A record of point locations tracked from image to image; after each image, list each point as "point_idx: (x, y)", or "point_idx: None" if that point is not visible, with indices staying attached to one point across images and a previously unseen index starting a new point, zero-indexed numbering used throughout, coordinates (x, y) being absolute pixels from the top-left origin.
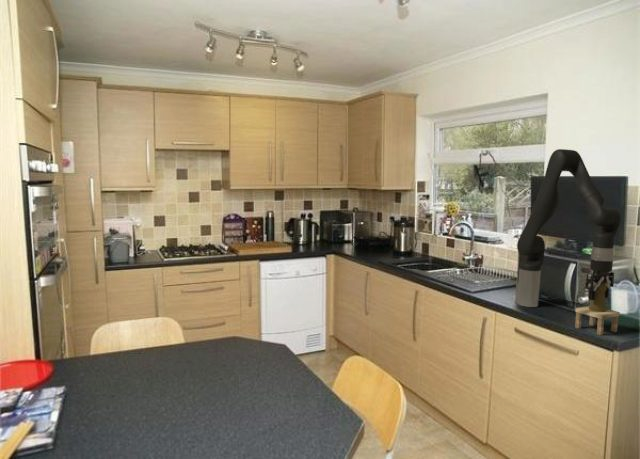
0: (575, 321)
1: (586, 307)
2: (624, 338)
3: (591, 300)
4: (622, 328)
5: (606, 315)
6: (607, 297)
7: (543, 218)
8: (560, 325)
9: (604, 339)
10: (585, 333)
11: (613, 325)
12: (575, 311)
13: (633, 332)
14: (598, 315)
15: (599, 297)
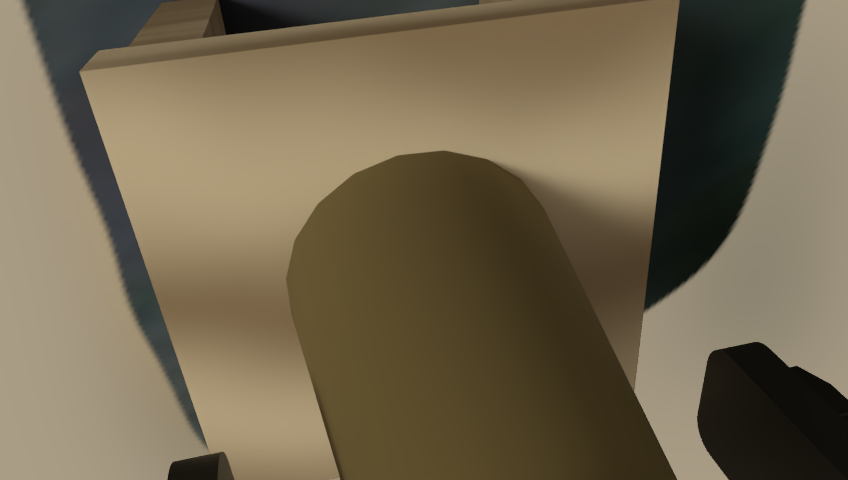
0: (150, 19)
1: (377, 106)
2: None
3: (334, 363)
4: (688, 192)
5: (327, 468)
6: (710, 448)
7: None
8: None
9: (179, 401)
10: (114, 231)
11: None
12: (96, 57)
13: (650, 302)
14: (215, 446)
15: None
